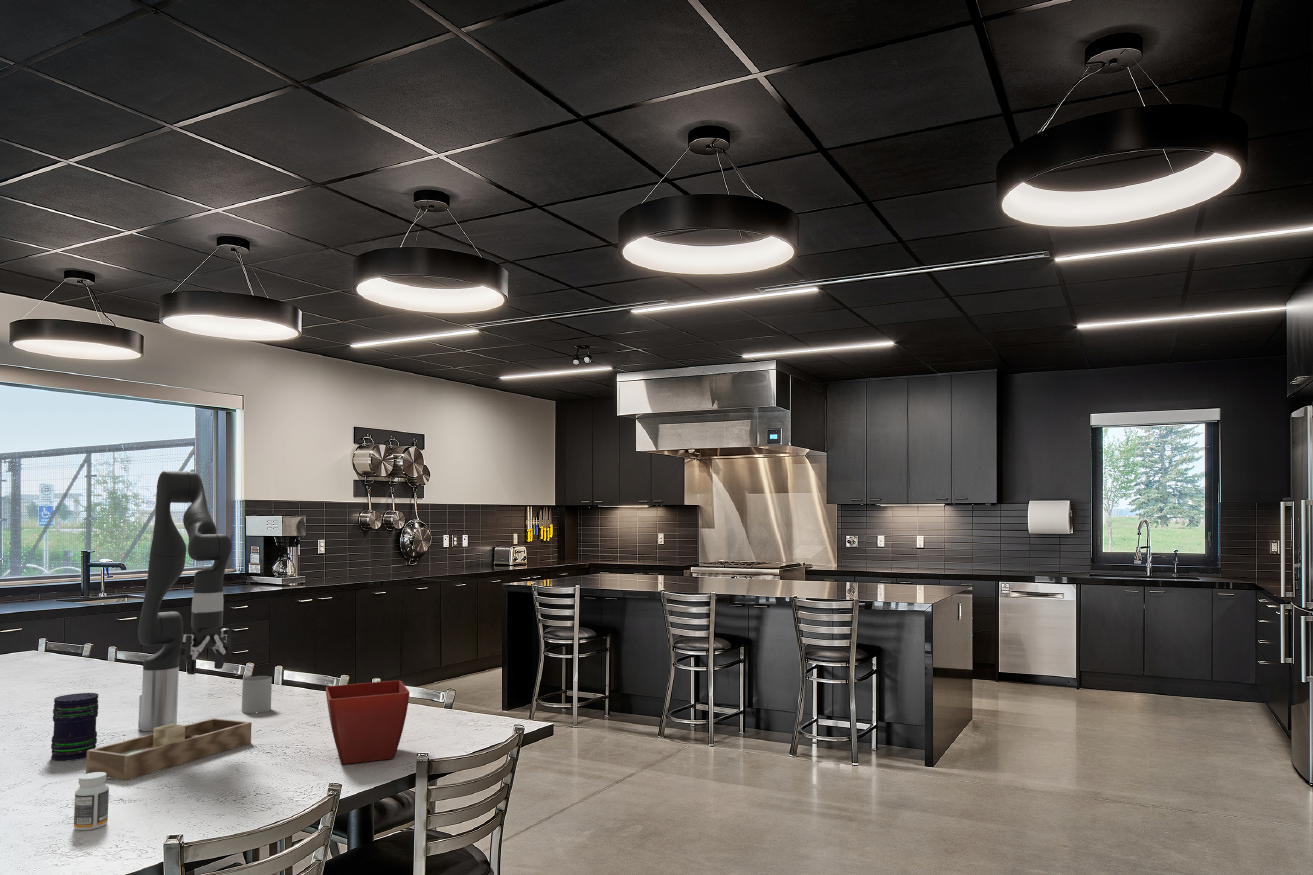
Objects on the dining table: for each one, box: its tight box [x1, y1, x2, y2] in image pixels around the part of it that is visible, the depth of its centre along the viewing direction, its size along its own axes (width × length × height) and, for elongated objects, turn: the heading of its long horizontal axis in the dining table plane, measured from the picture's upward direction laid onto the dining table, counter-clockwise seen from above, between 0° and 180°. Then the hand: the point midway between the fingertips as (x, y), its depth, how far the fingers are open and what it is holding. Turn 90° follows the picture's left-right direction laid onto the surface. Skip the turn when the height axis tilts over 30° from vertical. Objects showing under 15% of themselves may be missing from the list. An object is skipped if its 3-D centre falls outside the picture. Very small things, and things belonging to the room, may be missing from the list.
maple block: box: [152, 724, 185, 748], centre depth 224 cm, size 5×5×5 cm
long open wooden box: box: [85, 717, 252, 781], centre depth 225 cm, size 36×14×6 cm, turn 158°
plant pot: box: [325, 680, 410, 765], centre depth 226 cm, size 19×19×17 cm
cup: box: [241, 675, 273, 714], centre depth 279 cm, size 8×8×10 cm
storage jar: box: [50, 692, 99, 762], centre depth 228 cm, size 10×10×15 cm
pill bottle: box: [73, 772, 110, 831], centre depth 175 cm, size 6×6×10 cm
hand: (205, 671), depth 234 cm, fingers open, 8 cm apart
